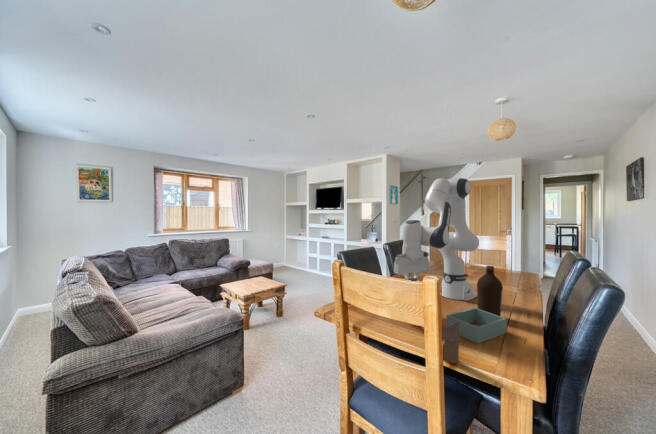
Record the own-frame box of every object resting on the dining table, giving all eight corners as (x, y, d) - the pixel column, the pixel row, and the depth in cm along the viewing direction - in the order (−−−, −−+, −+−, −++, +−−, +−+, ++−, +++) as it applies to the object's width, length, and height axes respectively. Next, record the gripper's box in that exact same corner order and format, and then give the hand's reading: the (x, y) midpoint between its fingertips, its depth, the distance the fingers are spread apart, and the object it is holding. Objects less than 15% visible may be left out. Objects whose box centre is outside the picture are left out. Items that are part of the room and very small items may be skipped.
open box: (474, 320, 120) (474, 307, 120) (506, 332, 108) (506, 318, 108) (446, 328, 111) (446, 315, 111) (478, 343, 99) (478, 328, 99)
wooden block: (453, 364, 85) (454, 311, 85) (424, 350, 93) (425, 302, 93) (459, 360, 87) (460, 309, 87) (429, 347, 96) (430, 300, 95)
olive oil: (480, 320, 120) (481, 267, 120) (473, 311, 131) (474, 263, 130) (505, 322, 118) (507, 269, 117) (496, 313, 128) (498, 264, 128)
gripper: (400, 255, 116) (399, 285, 116) (431, 253, 126) (430, 280, 126) (390, 253, 122) (390, 282, 122) (421, 251, 131) (420, 277, 131)
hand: (411, 281), depth 124 cm, fingers closed on lid, 3 cm apart
